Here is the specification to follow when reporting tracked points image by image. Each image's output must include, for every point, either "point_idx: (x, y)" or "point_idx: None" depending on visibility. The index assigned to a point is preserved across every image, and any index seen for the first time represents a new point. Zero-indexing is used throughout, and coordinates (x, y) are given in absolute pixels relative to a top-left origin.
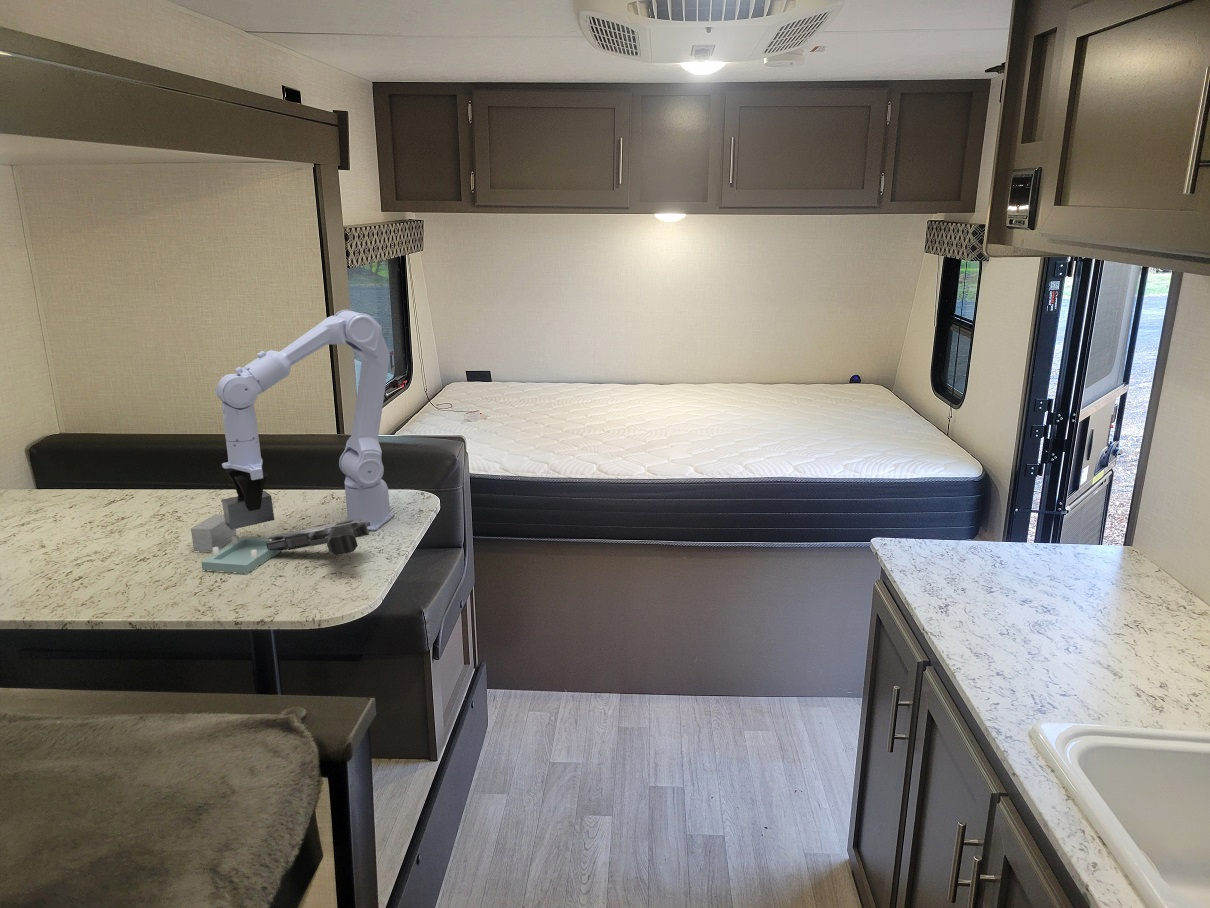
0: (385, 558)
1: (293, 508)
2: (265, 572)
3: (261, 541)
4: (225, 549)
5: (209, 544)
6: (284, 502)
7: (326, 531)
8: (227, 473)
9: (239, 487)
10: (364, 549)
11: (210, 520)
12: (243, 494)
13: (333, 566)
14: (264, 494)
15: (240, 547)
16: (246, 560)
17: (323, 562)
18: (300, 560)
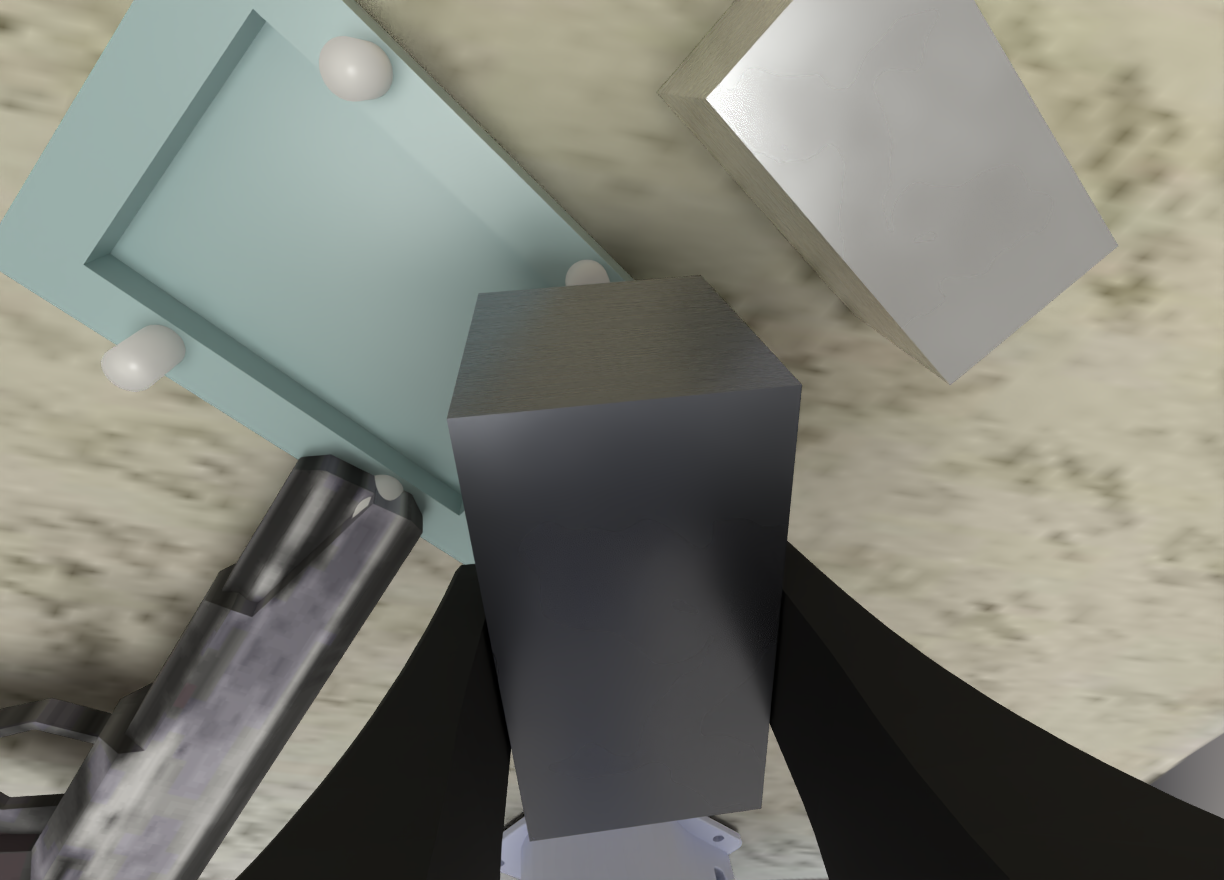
0: None
1: (1060, 643)
2: (50, 355)
3: None
4: (468, 176)
5: (688, 71)
6: (1185, 623)
7: (48, 845)
8: (1208, 878)
9: (841, 708)
10: (255, 794)
11: (986, 165)
12: (430, 723)
13: (44, 672)
14: (618, 801)
15: None
16: (253, 284)
17: (130, 644)
18: (212, 559)
